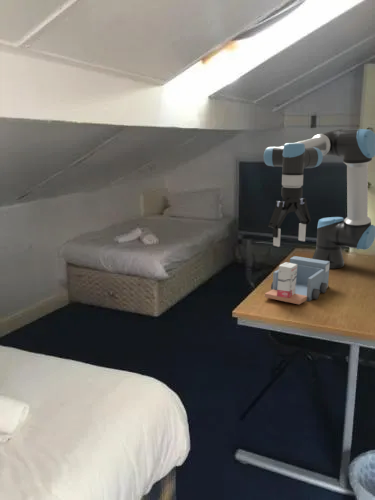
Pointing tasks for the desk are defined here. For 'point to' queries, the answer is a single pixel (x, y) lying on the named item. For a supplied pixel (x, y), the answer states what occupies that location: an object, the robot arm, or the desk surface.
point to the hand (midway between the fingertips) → (289, 243)
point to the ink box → (287, 280)
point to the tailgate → (293, 299)
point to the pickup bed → (308, 277)
